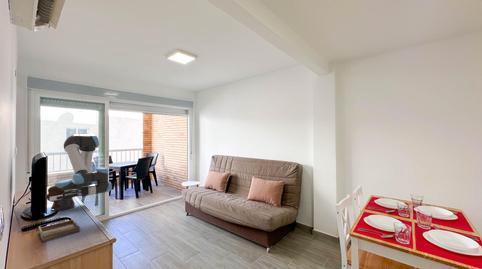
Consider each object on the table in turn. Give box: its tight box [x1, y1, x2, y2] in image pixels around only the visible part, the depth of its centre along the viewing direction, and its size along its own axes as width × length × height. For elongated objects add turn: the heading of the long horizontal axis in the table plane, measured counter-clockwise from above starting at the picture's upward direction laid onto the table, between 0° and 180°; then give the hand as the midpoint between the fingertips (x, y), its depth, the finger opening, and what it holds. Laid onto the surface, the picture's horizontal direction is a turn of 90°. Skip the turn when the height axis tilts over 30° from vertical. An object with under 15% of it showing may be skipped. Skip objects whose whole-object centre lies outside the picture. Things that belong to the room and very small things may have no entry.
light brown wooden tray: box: [38, 219, 81, 243], centre depth 135 cm, size 18×18×3 cm
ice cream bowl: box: [45, 185, 66, 210], centre depth 144 cm, size 11×11×15 cm
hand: (48, 197), depth 141 cm, fingers closed on ice cream bowl, 11 cm apart
